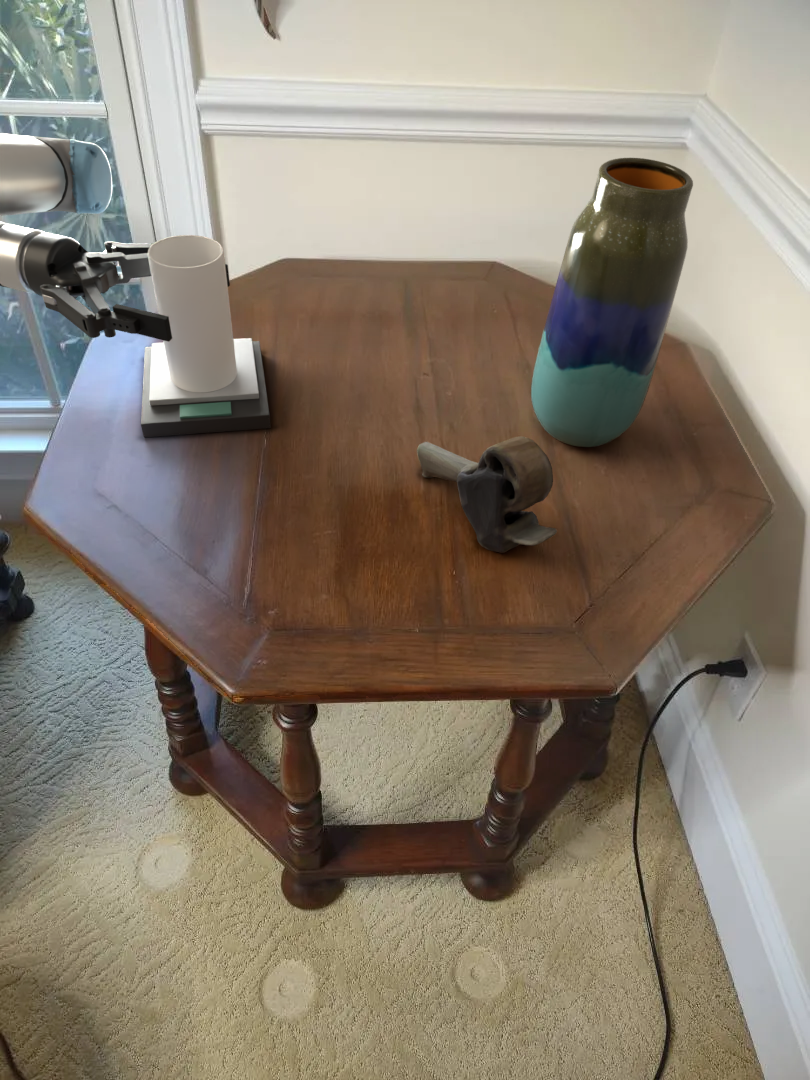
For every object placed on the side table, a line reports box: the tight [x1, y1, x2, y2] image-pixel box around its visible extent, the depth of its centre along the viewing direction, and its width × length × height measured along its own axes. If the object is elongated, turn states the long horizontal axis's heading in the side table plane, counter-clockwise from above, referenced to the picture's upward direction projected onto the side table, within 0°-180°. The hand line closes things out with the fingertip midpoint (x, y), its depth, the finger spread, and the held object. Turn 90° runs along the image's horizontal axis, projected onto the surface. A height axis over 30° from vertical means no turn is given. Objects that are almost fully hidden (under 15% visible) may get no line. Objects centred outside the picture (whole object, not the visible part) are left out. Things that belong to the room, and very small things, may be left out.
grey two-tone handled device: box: [416, 435, 558, 554], centre depth 82 cm, size 21×6×12 cm, turn 35°
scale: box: [140, 337, 272, 438], centre depth 98 cm, size 15×17×3 cm
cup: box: [148, 234, 237, 392], centre depth 91 cm, size 8×8×16 cm
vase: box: [530, 157, 694, 448], centre depth 87 cm, size 14×14×31 cm
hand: (199, 301), depth 89 cm, fingers open, 13 cm apart
